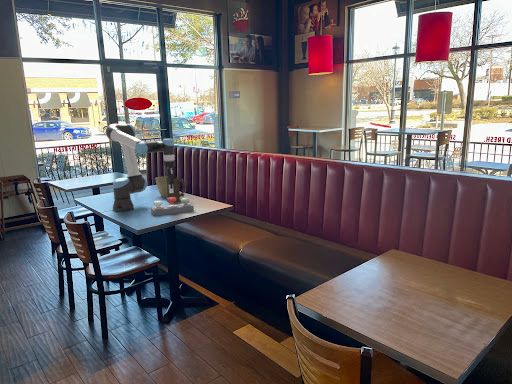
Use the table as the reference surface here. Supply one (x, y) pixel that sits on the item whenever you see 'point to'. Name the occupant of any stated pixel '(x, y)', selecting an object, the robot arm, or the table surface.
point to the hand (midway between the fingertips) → (171, 192)
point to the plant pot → (162, 185)
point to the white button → (158, 203)
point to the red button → (171, 200)
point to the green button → (185, 200)
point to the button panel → (172, 209)
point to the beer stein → (175, 189)
